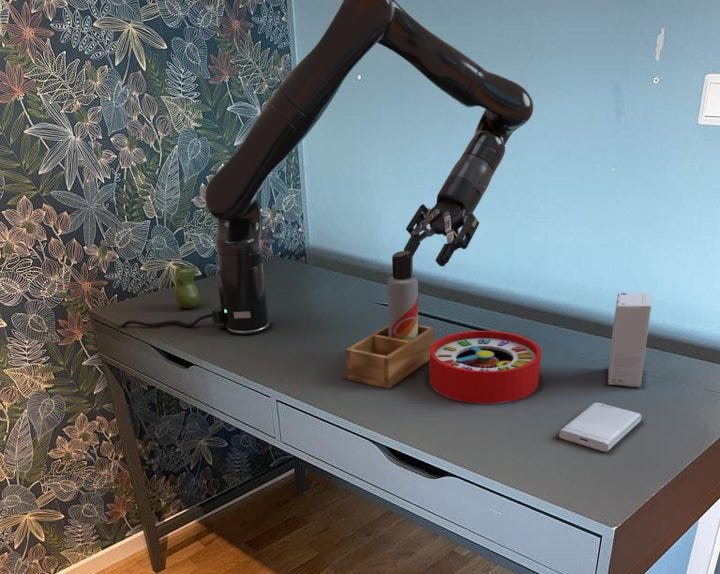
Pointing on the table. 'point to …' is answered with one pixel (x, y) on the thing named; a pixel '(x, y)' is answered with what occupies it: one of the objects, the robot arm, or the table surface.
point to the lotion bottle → (403, 298)
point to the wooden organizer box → (388, 357)
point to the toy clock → (484, 366)
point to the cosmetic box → (629, 339)
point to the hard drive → (600, 426)
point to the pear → (186, 288)
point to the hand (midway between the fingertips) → (422, 259)
